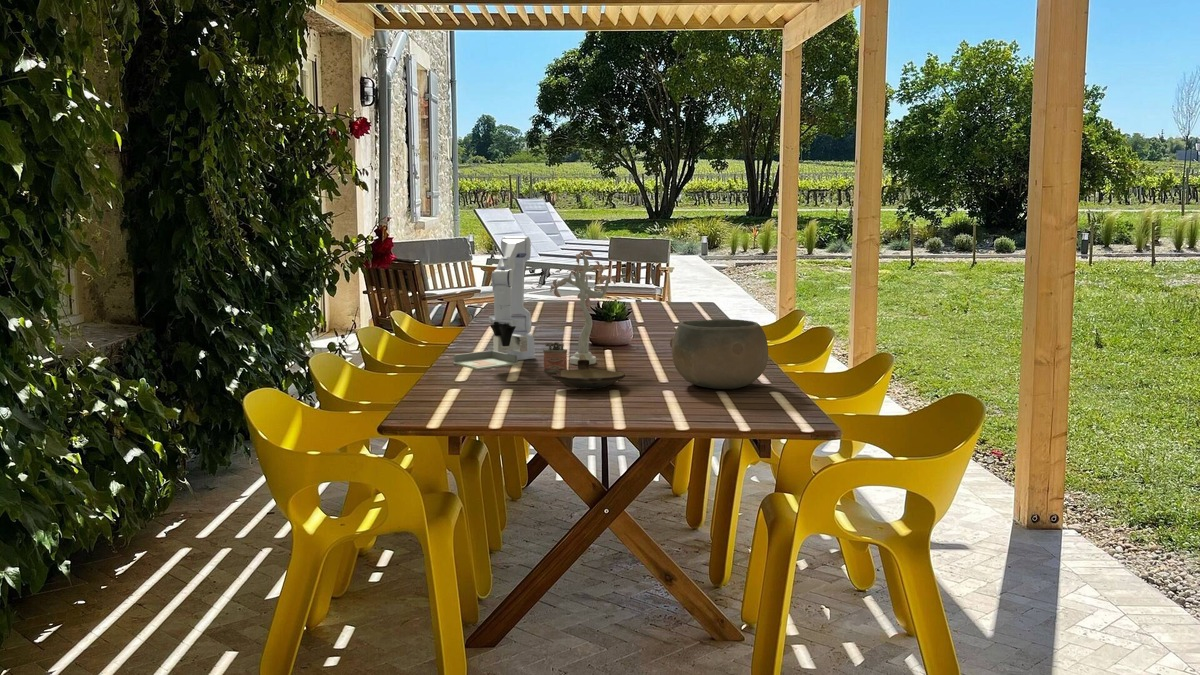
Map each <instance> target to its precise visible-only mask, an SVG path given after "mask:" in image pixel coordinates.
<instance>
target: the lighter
mask: <svg viewBox="0 0 1200 675" xmlns="http://www.w3.org/2000/svg"><path fill="white" fill-rule="evenodd" d="M564 344H565V343H563V342H558V341H555V342H553V341H552V342H545V347H548V348H544V349H542V350H543V351H542V352H543V373H557V372H558V371H561V370H568V355H567V354H568V349H566V348H564V347H565V345H564Z"/></svg>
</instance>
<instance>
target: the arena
mask: <svg viewBox="0 0 1200 675" xmlns="http://www.w3.org/2000/svg"><path fill="white" fill-rule="evenodd" d="M453 364H454V365H458V366H462V367H467V368H470V369H475V370H486V369H493V368H500V367H508V366H515V365H518V360H517V356H516V355H511V354H508V352H503V351H499V352H498V351H493V349H490V350H485V351H484V350H483V351H475V352H474V351H473V352H468V353H467V352H466V353H465V352H464V353H457V354H453Z"/></svg>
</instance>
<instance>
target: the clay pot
mask: <svg viewBox="0 0 1200 675" xmlns="http://www.w3.org/2000/svg"><path fill="white" fill-rule="evenodd" d="M669 347H670V348H671V355H672V362H673V365H674V367H675V370H676V371H677V372H678V374H679V375H680V376H681V377H682V378H683V379H684V380H685V382H688V383H690V384H692V385H694V386H697V387H703V388H707V389H714V390H733V389H740V388H744V387H746V386H748V385H750V384H752V383H754V382H756V380H758V378H760V377H761V375H762V374H764V372H765V370H766V368H767V365H768V361H769V346H768V338H767V335H766V333H765V331H764V329H763V328H762V326H761V325H760V324H759V323H758V322H757V321H753V320H745V319H735V318H734V319H732V318H730V319H726V318H725V319H724V318H723V319H722V318H721V319H718V318H717V319H715V318H714V319H699V320H698V319H697V320H682V321H680V323H679V324H678V326H677V327H676V328H675V331H674V335H673V336H671V338H670V342H669Z"/></svg>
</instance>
